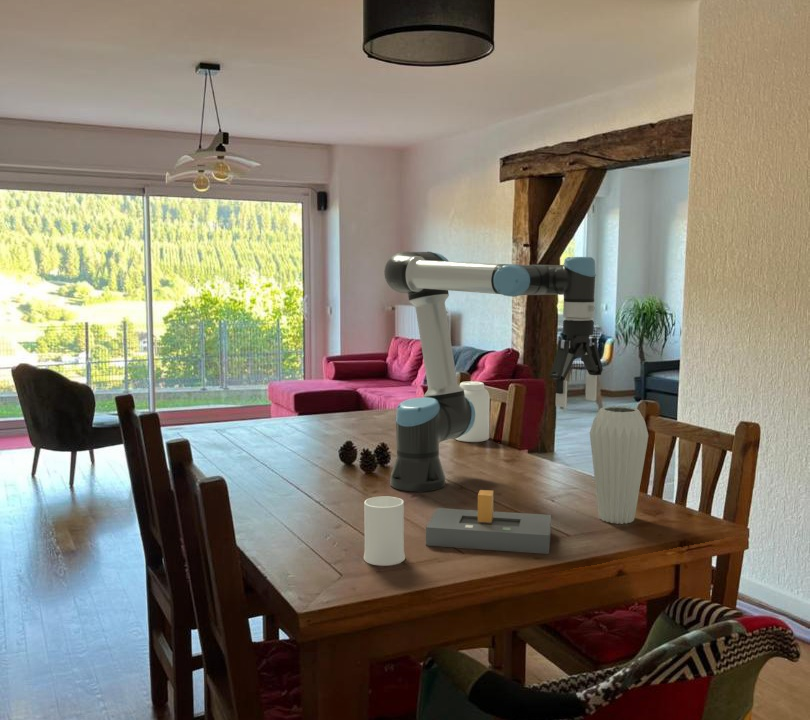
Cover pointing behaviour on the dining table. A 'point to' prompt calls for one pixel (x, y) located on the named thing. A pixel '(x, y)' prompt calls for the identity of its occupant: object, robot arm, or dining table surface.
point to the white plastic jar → (477, 411)
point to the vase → (618, 461)
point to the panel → (490, 531)
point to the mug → (384, 530)
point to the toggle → (485, 506)
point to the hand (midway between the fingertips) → (576, 403)
